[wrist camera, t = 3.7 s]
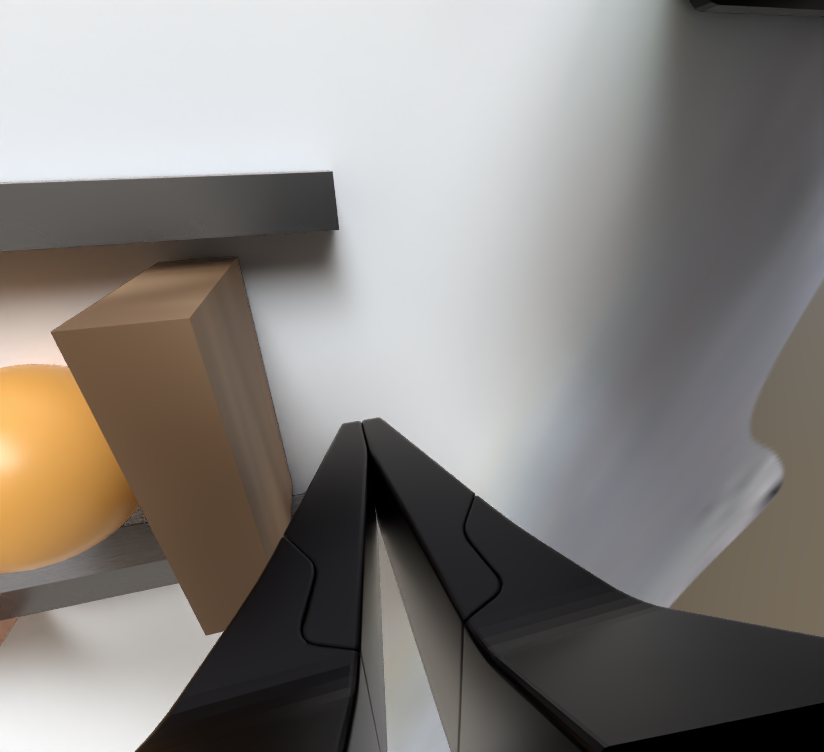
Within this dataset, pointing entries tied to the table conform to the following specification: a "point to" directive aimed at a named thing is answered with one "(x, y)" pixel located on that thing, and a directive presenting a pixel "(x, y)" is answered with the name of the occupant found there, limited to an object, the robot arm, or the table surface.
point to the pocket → (6, 627)
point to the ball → (53, 471)
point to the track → (134, 223)
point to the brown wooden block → (189, 423)
